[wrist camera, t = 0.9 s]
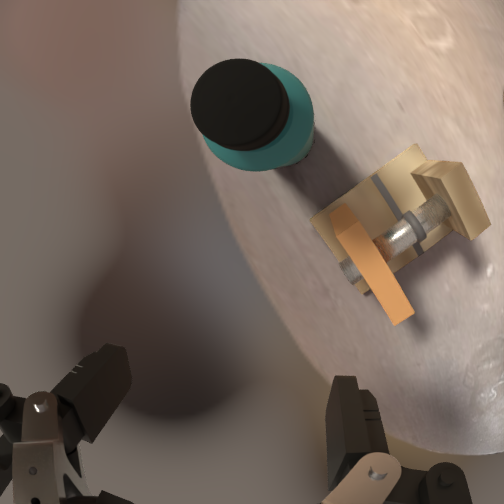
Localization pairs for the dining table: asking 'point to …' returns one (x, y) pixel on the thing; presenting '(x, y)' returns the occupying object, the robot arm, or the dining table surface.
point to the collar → (370, 264)
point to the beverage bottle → (253, 114)
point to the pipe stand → (407, 210)
